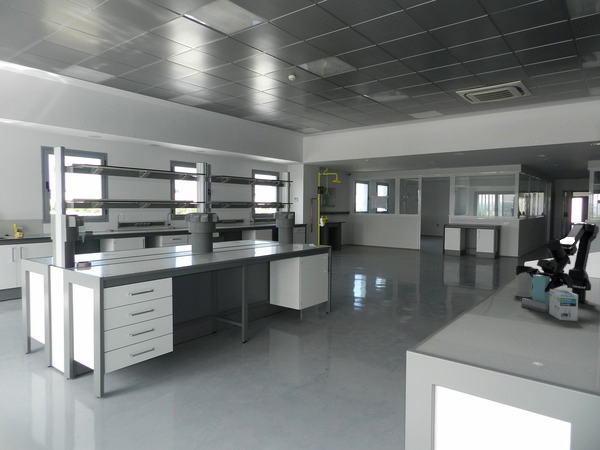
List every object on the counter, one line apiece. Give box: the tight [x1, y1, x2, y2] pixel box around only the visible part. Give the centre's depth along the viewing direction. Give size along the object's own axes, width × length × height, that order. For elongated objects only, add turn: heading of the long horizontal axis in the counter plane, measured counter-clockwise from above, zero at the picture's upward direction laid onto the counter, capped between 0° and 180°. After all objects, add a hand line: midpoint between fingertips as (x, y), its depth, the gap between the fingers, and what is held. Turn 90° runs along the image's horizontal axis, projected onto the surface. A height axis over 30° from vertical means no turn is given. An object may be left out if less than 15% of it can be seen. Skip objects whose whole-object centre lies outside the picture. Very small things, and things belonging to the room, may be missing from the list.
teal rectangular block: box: [531, 275, 551, 306], centre depth 177 cm, size 6×3×13 cm, turn 18°
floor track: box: [521, 297, 550, 314], centre depth 177 cm, size 12×9×4 cm
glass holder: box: [513, 265, 534, 298], centre depth 208 cm, size 9×14×15 cm, turn 158°
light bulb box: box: [548, 288, 579, 322], centre depth 162 cm, size 11×7×11 cm, turn 168°
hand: (538, 290), depth 176 cm, fingers closed on teal rectangular block, 6 cm apart
